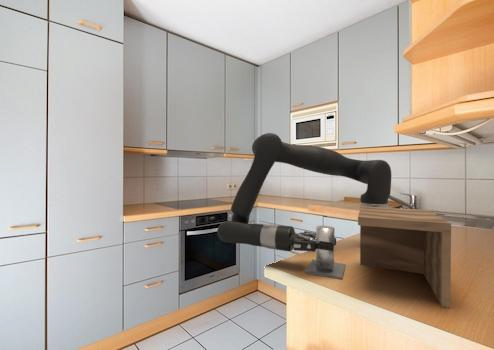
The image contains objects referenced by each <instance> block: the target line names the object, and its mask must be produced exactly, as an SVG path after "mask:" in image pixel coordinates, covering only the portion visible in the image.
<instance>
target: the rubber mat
mask: <svg viewBox="0 0 494 350" xmlns="http://www.w3.org/2000/svg"><path fill="white" fill-rule="evenodd" d="M346 264H347V263H342V262H341V263H340V262H335V261H334V268H331V269H324V268H320V267H317V266H316V258H315V259H313V258H312V259H311V261H310V262H309V264H308V266H307V267H306V268H305V270H304V274H308V275H312V276H320V277H325V278H332V279H338V280H343V277H344V273H345V270H346V266H347V265H346Z"/></svg>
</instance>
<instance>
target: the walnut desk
mask: <svg viewBox="0 0 494 350" xmlns="http://www.w3.org/2000/svg"><path fill="white" fill-rule="evenodd" d="M359 208H360V209H359V211H358V215H357V225H358V226H359V228H360V230H359V234H360V235H359V236H360V237H359V238H360V239H359V247H360V248H359V258H360V259H359V265H361V266H365V267H372V268H379V269H380V268H381V269H387V270H394V271H401V272H408V273H415V274H421V275H422V274H423V275H424V277H425V279H426V280H427V283H428V284H429V286H430V288H431V290H432V291H433V294H434V295H435V297H436V300H437V301H438V303H439V305H440V307H442V308H447V309H451V285H452V284H451V283H452V281H451V277H452V275H451V273H452V272H451V269H452V267H451V265H452V222H450V221H448V220H446V219H445V218H443V217H441V216H440V215H438V214H437V213H435V212H434V211H432V210H431V209H418V208H417V209H415V208H396V207H388V208H382V207H364V206H361V207H359Z"/></svg>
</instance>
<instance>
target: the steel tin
mask: <svg viewBox="0 0 494 350" xmlns="http://www.w3.org/2000/svg"><path fill="white" fill-rule="evenodd" d="M315 230H316V231H315V233H316V238H315V239H316V240H318V241H319V242H320V241H325V242H333V243H334V238H335V227H333V226H330V225H317V226H316V227H315ZM315 260H316V266H317V267H320V268H324V269H331V268H334V262H335V249H334V250H333V251H329V250H321V249H319V250H316V251H315Z"/></svg>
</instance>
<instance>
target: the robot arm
mask: <svg viewBox="0 0 494 350" xmlns="http://www.w3.org/2000/svg"><path fill="white" fill-rule="evenodd" d="M279 136H280V135H278V134H276V133H273V132H266V133H264V134H261V135H260V136H257V138H256V139H255V140H254V141H253V143H252V146H251V150H252V152H253V153H252V154H253V155H254V157H253V160H252V162H251V163H252V164H251V166H250V168H249V171H248V172H247V174H246V175H245V177H244V180H243V181H242V183H241V185H240V186H239V188H238V190H237V192H236V194H235V197H234V199H233V201H232V203H231V207H230V211H231V212H232V217H231V220H225V221H223V222H221V223H220V224H219V226H218V227H217V232H216V233H217V237H218V238H219V239H220V240H221V241H222V242H224V243H230V244H242V245H250V246H254V247H255V246H256V247H260V248H265V249H269V250H270V249H271V250H276V251H284V252H292V251H297V252H299V251H300V252H301V251H302V252H312V253H313V252H314V253H316V250H319V249H321V250H329V251H333V250H334V251H335V246H336V245H337V238H336V237H334V243H333V242H325V241H320V242H319V241H318V240H316V232H312V231H308V230H305V231H300V232H299V233H296V231H295V228H294V226H292V225H291V226H290V225H283V224H281V225H279V224H262V223H249V221H250V215H251V214H252V210H253V208H254V207H255V204H256V201H257V198H258V197H259V194H260V192H261V189H262V187H263V186H264V185H263V184H264V183H265V181H266V178H267V177H268V174H269V173H270V171H271V169H272V168H273V166H274V165H275V163H283V164H287V165H291V166H294V167H296V168H299V169H303V170H306V171H310V172H312V173H313V172H314V173H318V174H322V175H328V176H335V177H343V178H344V177H345V178H349V179H350V180H353V181H356V182H360V183H362V184H365V185H366V186H367V189H366V191H365V192H364V193H362V194H360V199H359V200H360V202H359V203H360V207H361V206H364V207H382V208H389V205H388V204H389V203H388V202H389V199H390V196H391V192H392V191H391V188H392V169H391V166H390V164H389V162H387V161H386V160H383V159H370V160H364V159H362V160H361V159H354V158H350V157H346V156H344V155H343V154H341V153H339V152H337V151H336V150H333V149H329V148H325V147H321V146H317V145H315V146H314V145H305V144H292V143H287V142H284V141H282V138H280V137H279ZM360 207H359V208H360Z"/></svg>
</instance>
